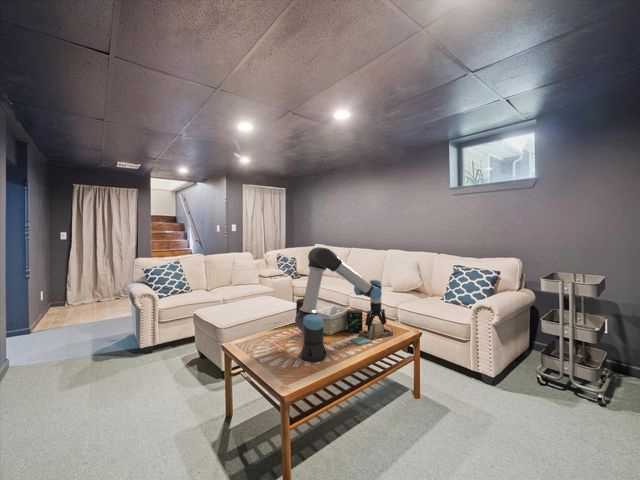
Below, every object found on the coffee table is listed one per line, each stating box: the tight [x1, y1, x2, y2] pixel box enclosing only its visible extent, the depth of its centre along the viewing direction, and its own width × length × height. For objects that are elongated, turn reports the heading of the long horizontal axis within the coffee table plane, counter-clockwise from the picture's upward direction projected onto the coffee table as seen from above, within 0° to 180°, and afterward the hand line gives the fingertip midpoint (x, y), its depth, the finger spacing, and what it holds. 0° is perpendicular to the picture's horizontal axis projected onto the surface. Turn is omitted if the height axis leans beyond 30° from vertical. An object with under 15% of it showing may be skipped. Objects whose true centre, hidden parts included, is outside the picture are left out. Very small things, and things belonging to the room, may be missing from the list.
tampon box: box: [346, 308, 363, 334], centre depth 213 cm, size 11×9×15 cm
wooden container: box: [295, 295, 305, 316], centre depth 234 cm, size 15×15×22 cm
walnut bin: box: [358, 327, 394, 341], centre depth 203 cm, size 21×11×2 cm, turn 117°
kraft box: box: [371, 321, 381, 335], centre depth 203 cm, size 5×5×8 cm
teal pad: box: [350, 336, 373, 346], centre depth 191 cm, size 10×10×1 cm
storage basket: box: [316, 304, 348, 336], centre depth 215 cm, size 24×16×15 cm
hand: (376, 334), depth 203 cm, fingers closed on walnut bin, 9 cm apart
